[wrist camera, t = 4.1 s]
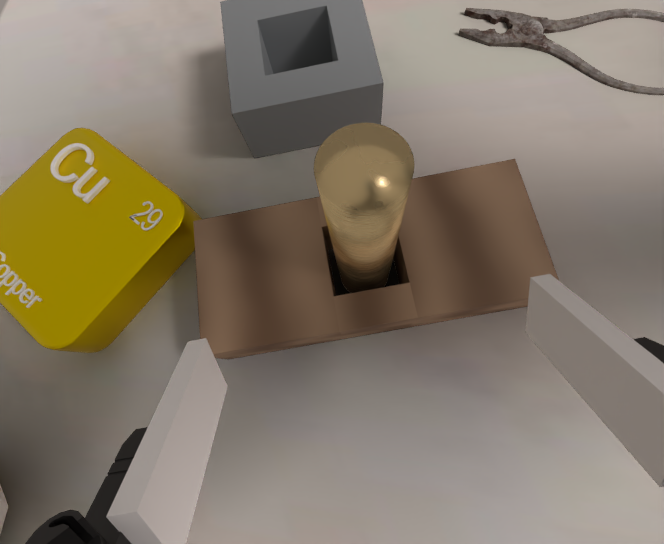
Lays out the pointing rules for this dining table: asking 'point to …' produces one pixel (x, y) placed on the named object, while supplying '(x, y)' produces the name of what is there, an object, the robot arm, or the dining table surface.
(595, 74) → the pliers
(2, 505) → the geodesic sphere
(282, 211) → the beam
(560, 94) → the dining table surface
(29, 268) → the element tile
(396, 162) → the golden rounded rod
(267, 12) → the seat block
